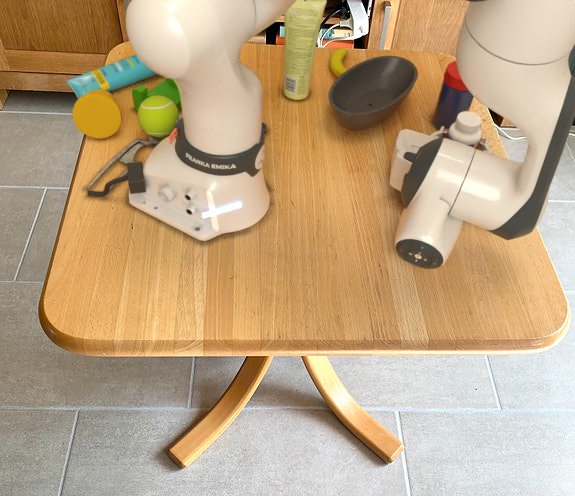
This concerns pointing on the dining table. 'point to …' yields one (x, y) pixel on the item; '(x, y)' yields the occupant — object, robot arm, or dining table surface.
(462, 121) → the pill bottle
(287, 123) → the dining table surface
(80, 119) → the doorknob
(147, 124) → the tennis ball
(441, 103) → the jar
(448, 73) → the lid
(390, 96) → the bowl
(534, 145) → the robot arm
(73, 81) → the tube
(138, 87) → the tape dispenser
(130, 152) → the nutcracker
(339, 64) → the fruit
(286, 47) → the tube
